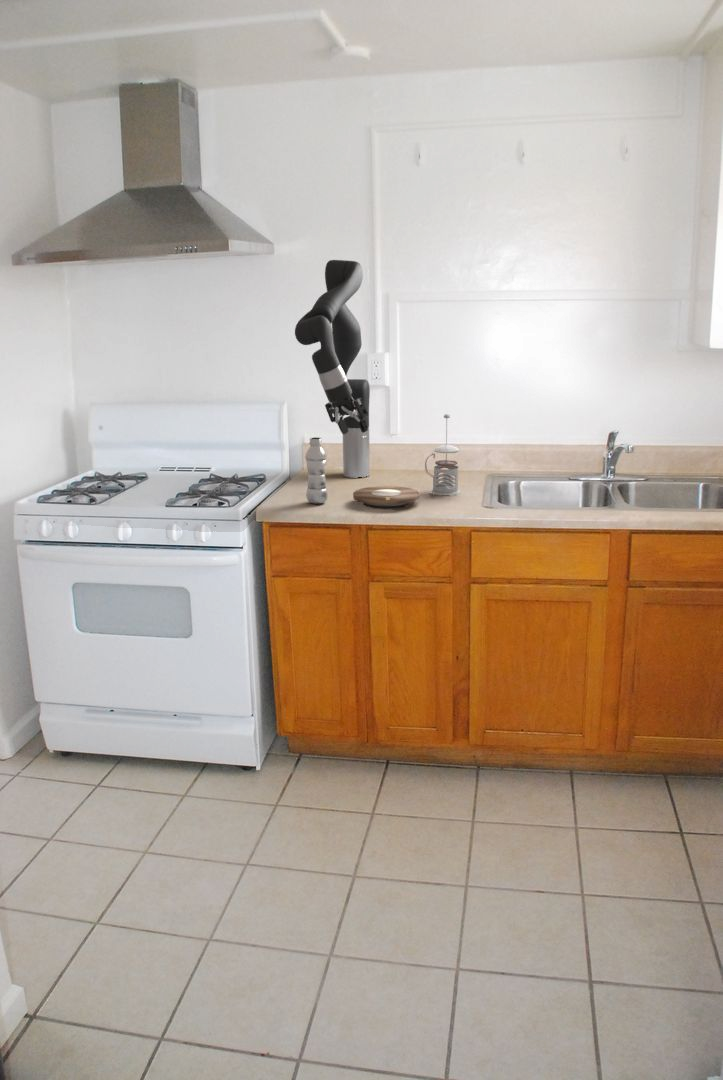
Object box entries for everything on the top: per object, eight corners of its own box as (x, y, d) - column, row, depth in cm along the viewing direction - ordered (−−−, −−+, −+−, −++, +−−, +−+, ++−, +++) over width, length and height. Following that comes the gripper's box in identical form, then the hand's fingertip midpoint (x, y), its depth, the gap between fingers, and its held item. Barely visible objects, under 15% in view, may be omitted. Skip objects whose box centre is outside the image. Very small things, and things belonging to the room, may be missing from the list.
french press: (459, 496, 278) (461, 416, 271) (422, 494, 280) (423, 415, 273) (462, 489, 287) (464, 412, 280) (426, 488, 289) (427, 411, 282)
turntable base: (362, 498, 276) (362, 492, 276) (407, 497, 277) (407, 492, 276) (363, 509, 263) (363, 503, 262) (411, 508, 263) (411, 502, 263)
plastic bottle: (323, 499, 275) (322, 435, 270) (330, 504, 269) (329, 439, 264) (303, 501, 273) (301, 437, 267) (310, 506, 267) (308, 440, 261)
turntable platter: (352, 490, 278) (352, 486, 278) (416, 489, 279) (416, 484, 279) (354, 505, 259) (353, 500, 259) (422, 504, 260) (422, 499, 259)
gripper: (359, 375, 257) (379, 425, 263) (327, 379, 267) (347, 428, 273) (343, 386, 253) (364, 437, 259) (310, 390, 263) (331, 439, 269)
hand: (355, 432), depth 266 cm, fingers open, 8 cm apart
